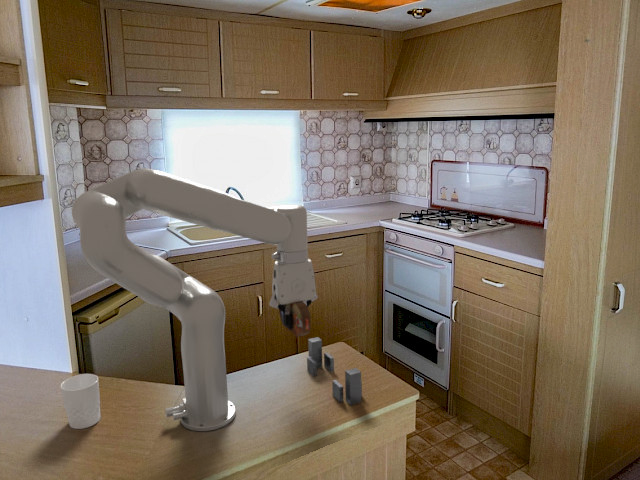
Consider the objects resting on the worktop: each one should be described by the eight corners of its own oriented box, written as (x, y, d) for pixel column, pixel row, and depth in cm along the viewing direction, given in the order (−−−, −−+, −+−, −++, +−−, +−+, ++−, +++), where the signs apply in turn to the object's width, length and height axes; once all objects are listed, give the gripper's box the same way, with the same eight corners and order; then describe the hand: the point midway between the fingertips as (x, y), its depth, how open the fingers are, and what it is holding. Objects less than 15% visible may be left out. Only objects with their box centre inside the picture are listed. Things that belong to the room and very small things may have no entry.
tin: (278, 321, 136) (276, 291, 134) (289, 318, 137) (287, 289, 135) (302, 342, 123) (299, 309, 121) (314, 339, 124) (311, 306, 122)
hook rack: (344, 407, 123) (344, 376, 121) (303, 367, 143) (302, 340, 142) (366, 400, 126) (366, 370, 124) (323, 362, 146) (323, 335, 144)
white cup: (103, 408, 125) (98, 371, 122) (102, 426, 117) (97, 386, 115) (67, 416, 122) (62, 377, 120) (64, 434, 115) (58, 393, 112)
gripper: (266, 264, 119) (270, 338, 123) (329, 254, 126) (330, 325, 130) (255, 256, 125) (259, 327, 129) (315, 248, 132) (317, 316, 136)
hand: (294, 325), depth 129 cm, fingers closed on tin, 2 cm apart
